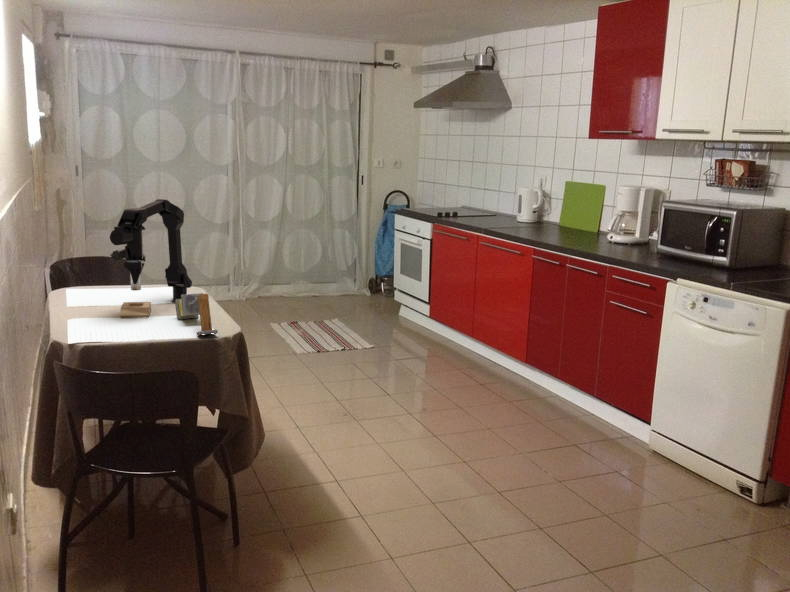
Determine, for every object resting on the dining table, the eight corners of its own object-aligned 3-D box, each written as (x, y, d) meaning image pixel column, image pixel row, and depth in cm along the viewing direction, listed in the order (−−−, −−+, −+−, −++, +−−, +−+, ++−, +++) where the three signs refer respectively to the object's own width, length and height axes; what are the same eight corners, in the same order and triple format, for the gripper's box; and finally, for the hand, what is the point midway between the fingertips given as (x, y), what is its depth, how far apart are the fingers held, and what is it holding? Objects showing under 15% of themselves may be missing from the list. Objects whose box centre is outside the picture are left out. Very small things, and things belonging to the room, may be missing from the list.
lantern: (179, 344, 263) (198, 334, 237) (175, 300, 265) (192, 285, 239) (200, 342, 267) (220, 332, 241) (195, 298, 269) (215, 284, 243)
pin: (131, 288, 268) (130, 268, 266) (141, 288, 269) (140, 268, 267) (130, 290, 264) (129, 269, 263) (140, 290, 265) (139, 269, 264)
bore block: (124, 312, 272) (123, 302, 271) (151, 311, 275) (150, 301, 274) (120, 318, 263) (120, 307, 262) (148, 317, 265) (148, 307, 264)
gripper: (114, 239, 270) (116, 278, 273) (108, 245, 252) (109, 287, 255) (145, 239, 273) (146, 278, 276) (140, 245, 255) (141, 287, 258)
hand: (135, 283), depth 266 cm, fingers closed on pin, 4 cm apart
